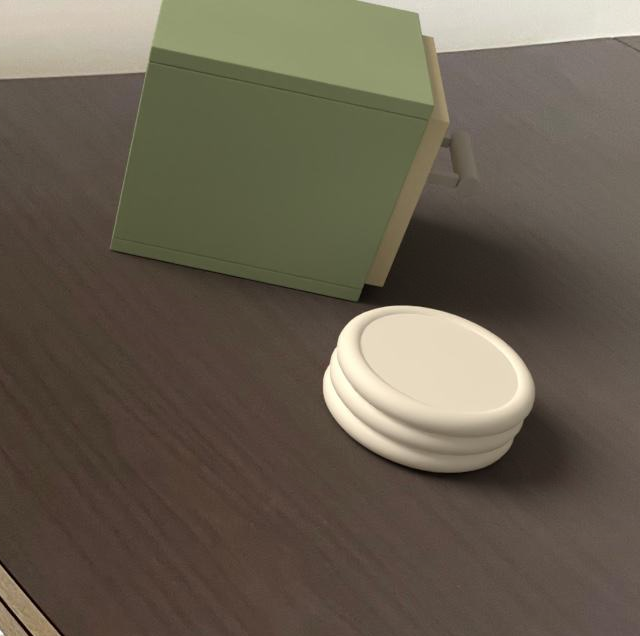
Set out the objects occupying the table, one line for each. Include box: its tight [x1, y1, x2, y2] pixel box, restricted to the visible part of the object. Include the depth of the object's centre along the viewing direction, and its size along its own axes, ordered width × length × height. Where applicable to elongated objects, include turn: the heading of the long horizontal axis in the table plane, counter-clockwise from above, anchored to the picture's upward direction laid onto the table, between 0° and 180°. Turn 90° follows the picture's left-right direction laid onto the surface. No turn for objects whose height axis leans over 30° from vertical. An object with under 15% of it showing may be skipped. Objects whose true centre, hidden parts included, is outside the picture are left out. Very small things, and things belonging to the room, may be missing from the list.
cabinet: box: [109, 0, 434, 303], centre depth 67 cm, size 15×13×12 cm
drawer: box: [364, 34, 481, 288], centre depth 67 cm, size 17×11×10 cm, turn 81°
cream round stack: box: [322, 305, 536, 474], centre depth 59 cm, size 10×10×4 cm
